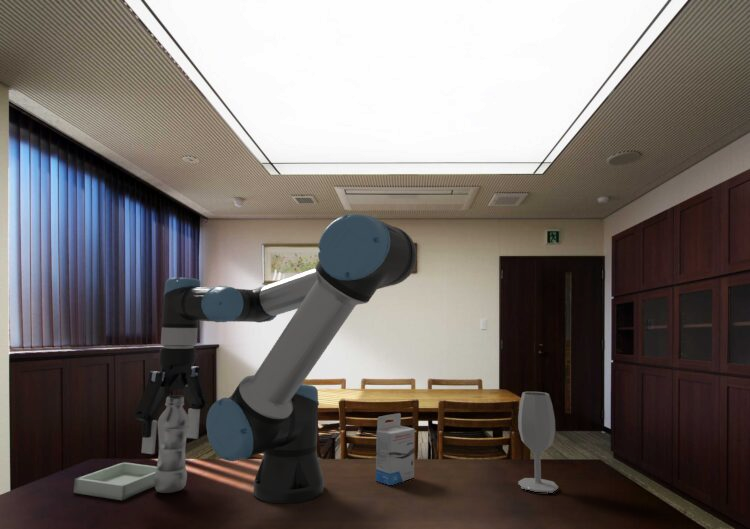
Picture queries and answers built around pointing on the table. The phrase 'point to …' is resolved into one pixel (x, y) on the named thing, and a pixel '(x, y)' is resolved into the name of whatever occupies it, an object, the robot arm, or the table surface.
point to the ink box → (394, 450)
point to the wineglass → (536, 435)
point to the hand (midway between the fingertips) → (171, 445)
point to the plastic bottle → (172, 447)
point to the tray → (117, 481)
